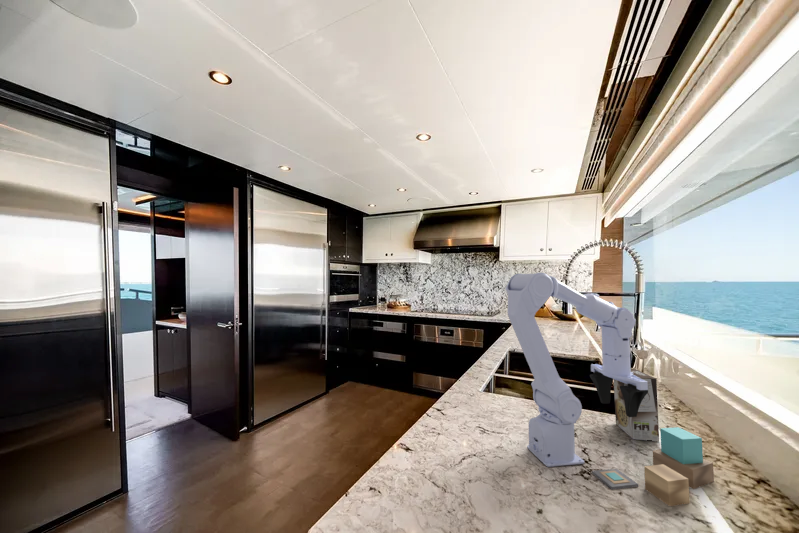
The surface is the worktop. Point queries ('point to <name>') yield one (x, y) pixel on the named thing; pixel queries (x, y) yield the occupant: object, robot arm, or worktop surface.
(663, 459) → the walnut block
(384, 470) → the worktop surface
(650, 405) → the coffee box
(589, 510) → the worktop surface
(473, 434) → the worktop surface
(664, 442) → the teal block
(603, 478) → the card
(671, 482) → the oak block
